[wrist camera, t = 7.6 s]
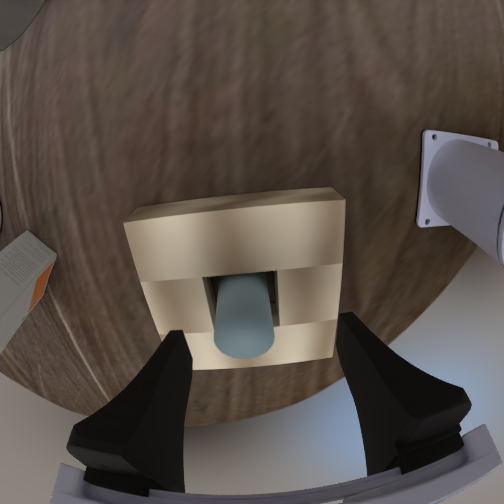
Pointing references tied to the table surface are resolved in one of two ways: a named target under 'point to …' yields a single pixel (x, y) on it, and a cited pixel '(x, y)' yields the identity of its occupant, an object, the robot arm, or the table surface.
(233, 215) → the socket block
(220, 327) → the peg
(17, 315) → the skincare box
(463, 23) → the table surface
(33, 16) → the coffee mug
